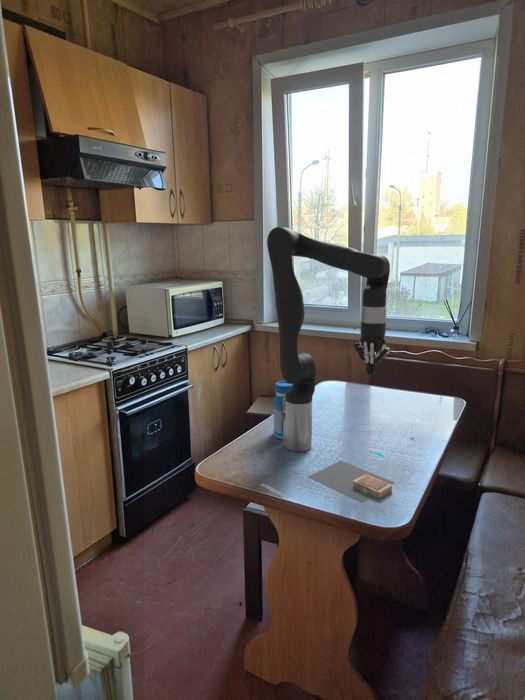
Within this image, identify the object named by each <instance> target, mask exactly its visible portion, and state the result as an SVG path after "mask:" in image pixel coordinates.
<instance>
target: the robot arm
mask: <svg viewBox="0 0 525 700" xmlns="http://www.w3.org/2000/svg"><path fill="white" fill-rule="evenodd" d="M266 245H267V253H268V257H269V261H270V266H271V271H272V279H273V287H274V288H273V289H274V295H275V296H274V297H275V298H274V299H275V309H276V316H277V322H278V323H277V325H278V336H279V367H280V374H281V377H282V379H283V381H286V382H287V383H289V384H293V385H292V386H291V387H290V388H289V389H288V390H287V392H286V394H285V419H284V420H283V438H282V441H283V446H285V448H286V449H287V450H288V451H291V452H294V453H295V452H297V453H301V452H307V451H310V450H311V449H312V442H313V441H312V440H313V439H312V435H313V397H314V396H313V395H314V394H315V391H316V376H317V375H316V374H317V366H316V361H315V360H314V358H313V356H312V355H310V353H305V352H302V353H299V352H298V351H299V350H298V340H299V335H300V331H301V330H302V326H303V324H304V319H305V305H304V304H305V301H304V296H303V292H302V288H301V286H300V284H299V282H298V279H297V276H296V274H295V271H294V270H295V269H294V266H293V264H294V263H293V257H299V258H307V259H311V260H315V261H317V262H319V263H322V264H324V265H326V266H329V267H332V268H336V269H339V270H342V271H347V272H351V273H353V274H356V275H358V276H361V277H363V278H366V285H365V287H364V289H363V291H362V303H361V304H362V307H361V312H360V313H361V314H360V335H361V336H360V338H359V341H358V342H357V343H356V342H355V343H353V347H354V348H355V351H356V352H357V354H358V355H359V358H360V359H361V360H362V361H364V362H365V364H366V365H365V368H366V369H365V372H366V374H367V375H369V376H373V375H375V373H376V372H377V364H378V363H382V362H384V360H385V358H387V356H388V355H389V354H390V353H391V352H392V348H391V347H388V346H387V345H386V340H385V337H386V329H387V328H386V325H387V308H386V306H387V288H388V284H389V281H390V280H389V278H390V273H391V266H390V261H389V259H388V258H387V256H385V255H383V254H372V253H371V254H370V253H366V252H362V251H359V250H357V249H355V248H352V247H349V246H346V245H341V244H337V243H332V242H326V241H322V240H318V239H314V238H311V237H309V236H307V235H305V234H302V233H300V232H298V231H296V230H294V229H292V228H289V227H283V226H276V227H273V228H272V229H271V230H270V231H269V233H268V235H267V239H266ZM380 352H381V353H380Z"/></svg>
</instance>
